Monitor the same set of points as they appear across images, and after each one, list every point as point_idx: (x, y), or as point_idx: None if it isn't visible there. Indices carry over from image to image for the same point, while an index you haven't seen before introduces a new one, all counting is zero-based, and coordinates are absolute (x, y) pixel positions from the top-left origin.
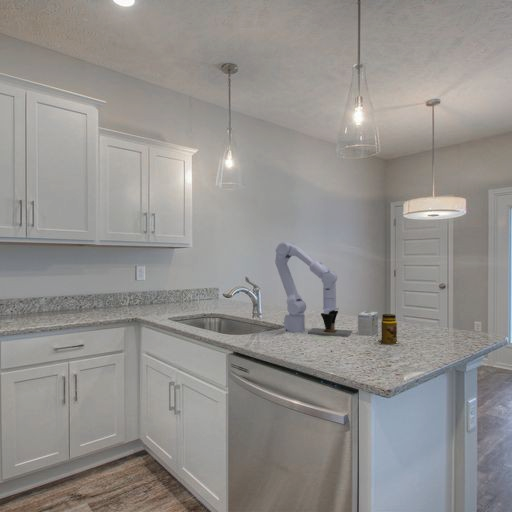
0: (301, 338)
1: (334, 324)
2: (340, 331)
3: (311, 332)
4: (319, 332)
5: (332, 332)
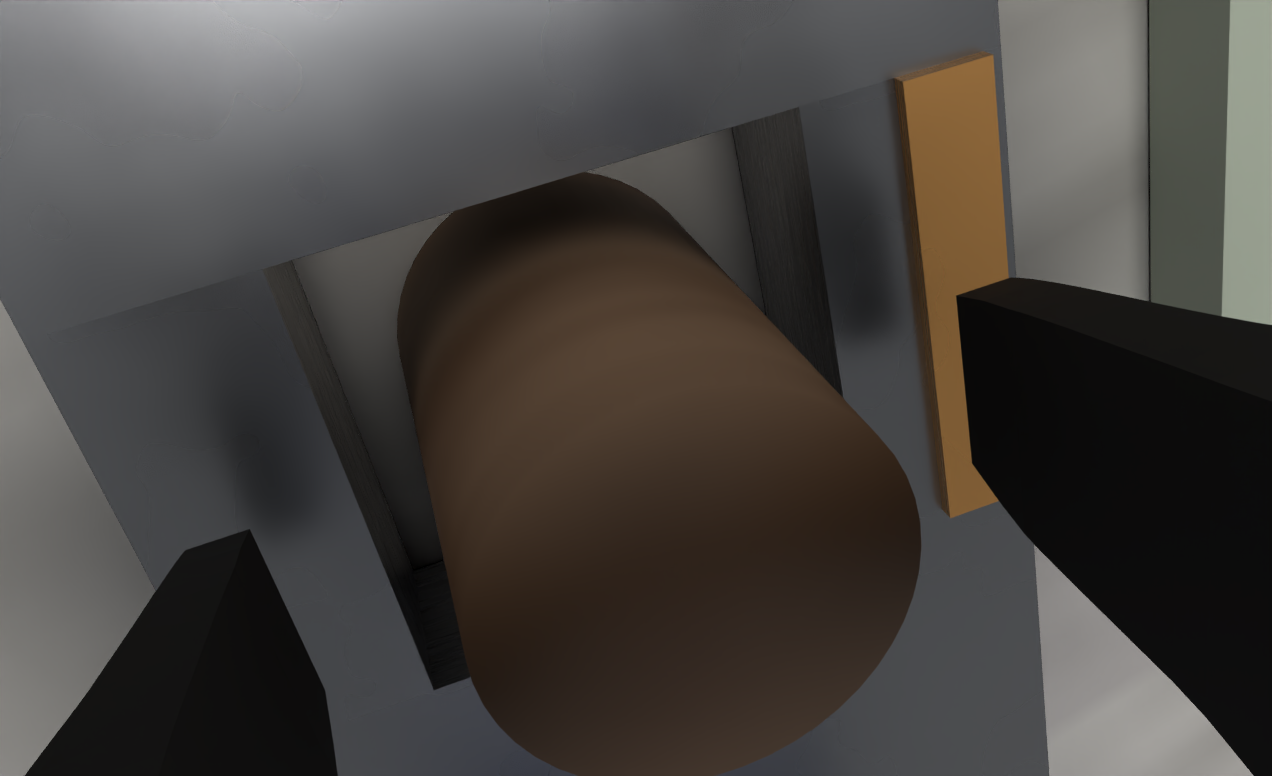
0: (1147, 719)
1: (613, 390)
2: (389, 22)
3: (1036, 727)
4: (1018, 542)
5: (813, 200)
